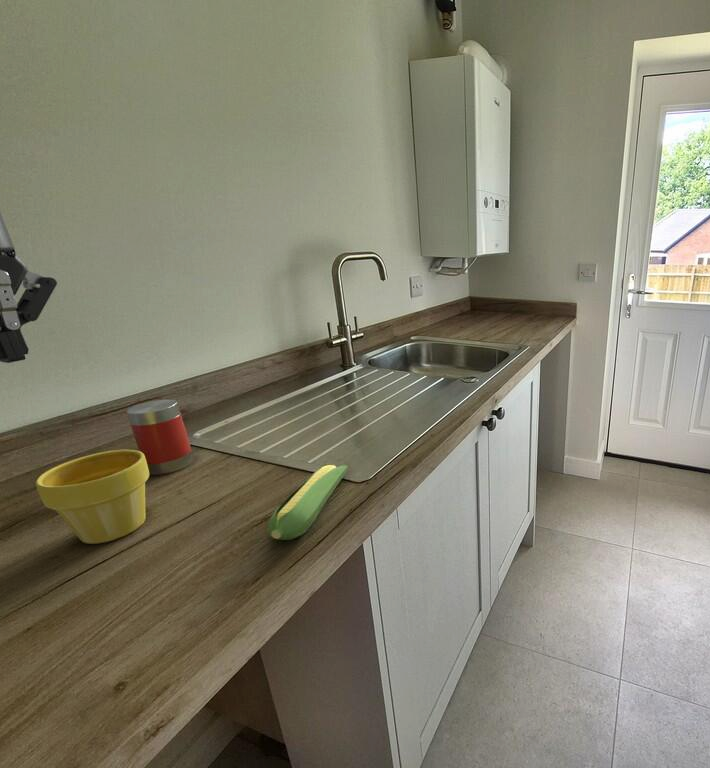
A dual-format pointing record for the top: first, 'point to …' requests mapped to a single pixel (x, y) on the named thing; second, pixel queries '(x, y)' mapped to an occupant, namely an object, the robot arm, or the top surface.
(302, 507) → the edible corn
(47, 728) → the top surface
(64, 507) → the flower pot
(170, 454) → the tin can
